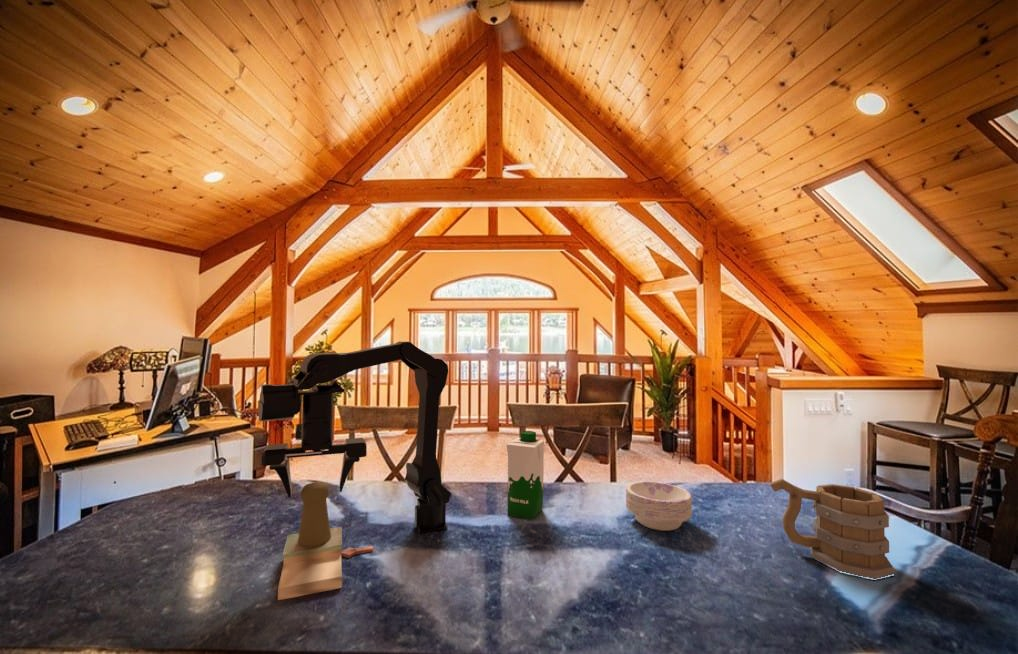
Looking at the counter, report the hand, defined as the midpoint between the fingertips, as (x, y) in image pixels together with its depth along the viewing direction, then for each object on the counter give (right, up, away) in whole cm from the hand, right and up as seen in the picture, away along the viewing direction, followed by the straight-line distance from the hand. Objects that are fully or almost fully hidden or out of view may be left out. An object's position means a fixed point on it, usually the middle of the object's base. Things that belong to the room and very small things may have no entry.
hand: (315, 494), depth 84 cm
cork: (0, -9, 0) cm, 9 cm away
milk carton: (+43, -14, +24) cm, 51 cm away
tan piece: (+4, -13, -3) cm, 14 cm away
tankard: (+105, -14, +3) cm, 106 cm away
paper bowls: (+75, -15, +19) cm, 79 cm away
